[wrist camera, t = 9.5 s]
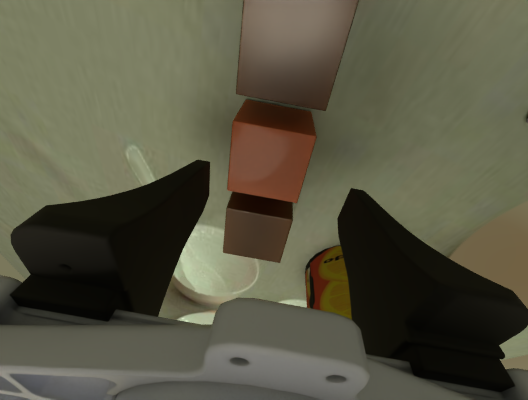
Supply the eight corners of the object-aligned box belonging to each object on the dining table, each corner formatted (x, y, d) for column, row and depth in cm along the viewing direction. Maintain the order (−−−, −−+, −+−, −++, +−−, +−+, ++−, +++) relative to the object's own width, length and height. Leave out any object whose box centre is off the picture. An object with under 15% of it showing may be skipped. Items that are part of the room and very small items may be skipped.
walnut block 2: (342, 1, 14) (361, -7, 10) (318, 91, 17) (325, 111, 13) (258, -15, 14) (246, -30, 10) (248, 77, 17) (235, 94, 13)
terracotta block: (296, 169, 21) (297, 203, 17) (239, 158, 21) (226, 190, 17) (311, 111, 18) (317, 136, 14) (245, 98, 18) (232, 120, 14)
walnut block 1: (292, 184, 22) (292, 220, 18) (281, 224, 25) (280, 263, 21) (238, 174, 22) (226, 208, 18) (233, 215, 25) (222, 253, 21)
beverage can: (331, 234, 25) (355, 365, 16) (403, 262, 27) (467, 399, 17) (292, 281, 30) (292, 402, 21) (354, 302, 32) (382, 425, 22)
